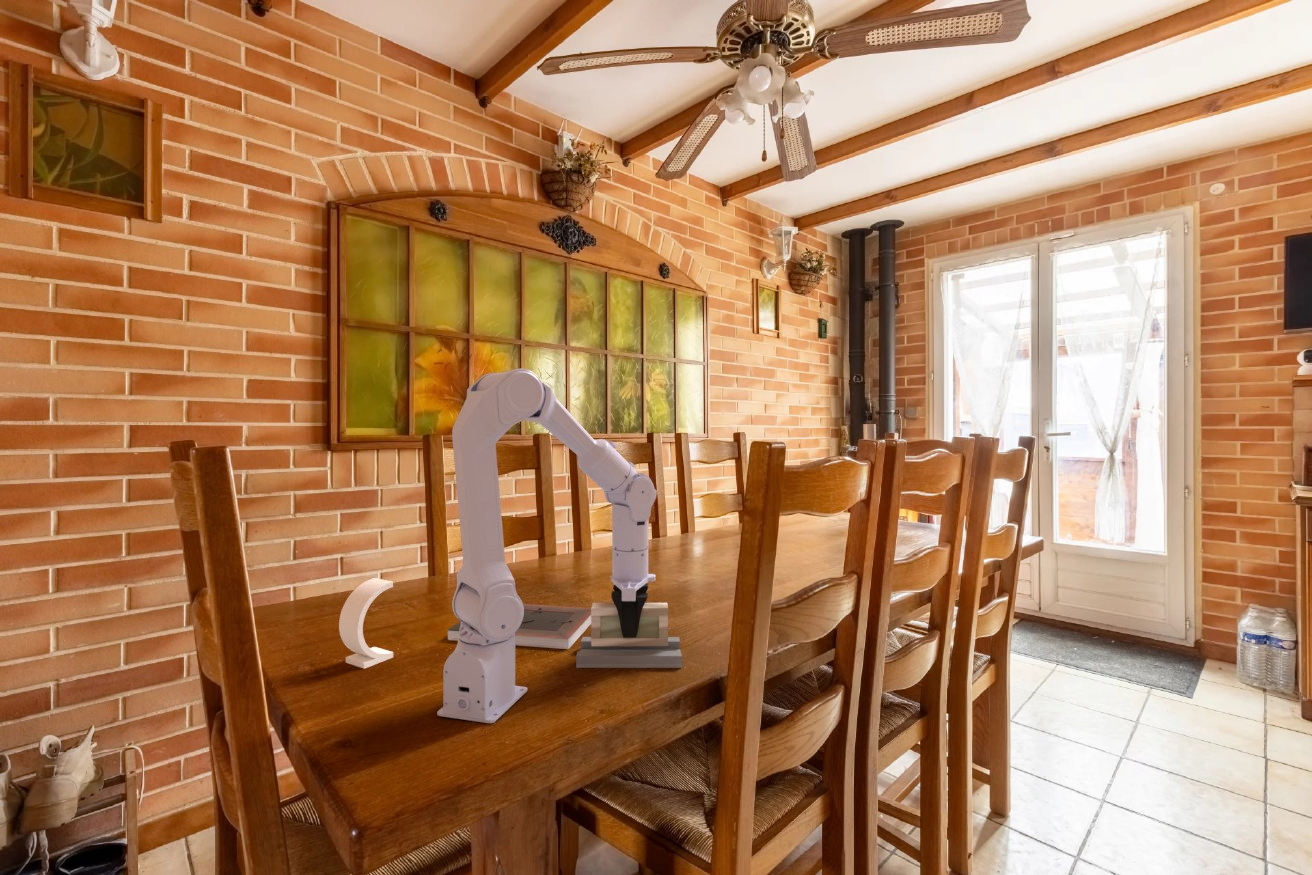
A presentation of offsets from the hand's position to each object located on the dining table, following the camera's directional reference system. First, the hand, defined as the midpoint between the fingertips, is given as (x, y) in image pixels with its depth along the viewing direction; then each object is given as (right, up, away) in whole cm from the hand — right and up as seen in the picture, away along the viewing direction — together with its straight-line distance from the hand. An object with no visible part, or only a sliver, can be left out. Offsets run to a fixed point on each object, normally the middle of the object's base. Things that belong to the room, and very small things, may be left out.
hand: (630, 633), depth 92 cm
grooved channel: (0, -4, 0) cm, 4 cm away
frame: (0, -2, 0) cm, 2 cm away
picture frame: (-19, -4, +13) cm, 24 cm away
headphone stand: (-41, -4, -2) cm, 41 cm away
